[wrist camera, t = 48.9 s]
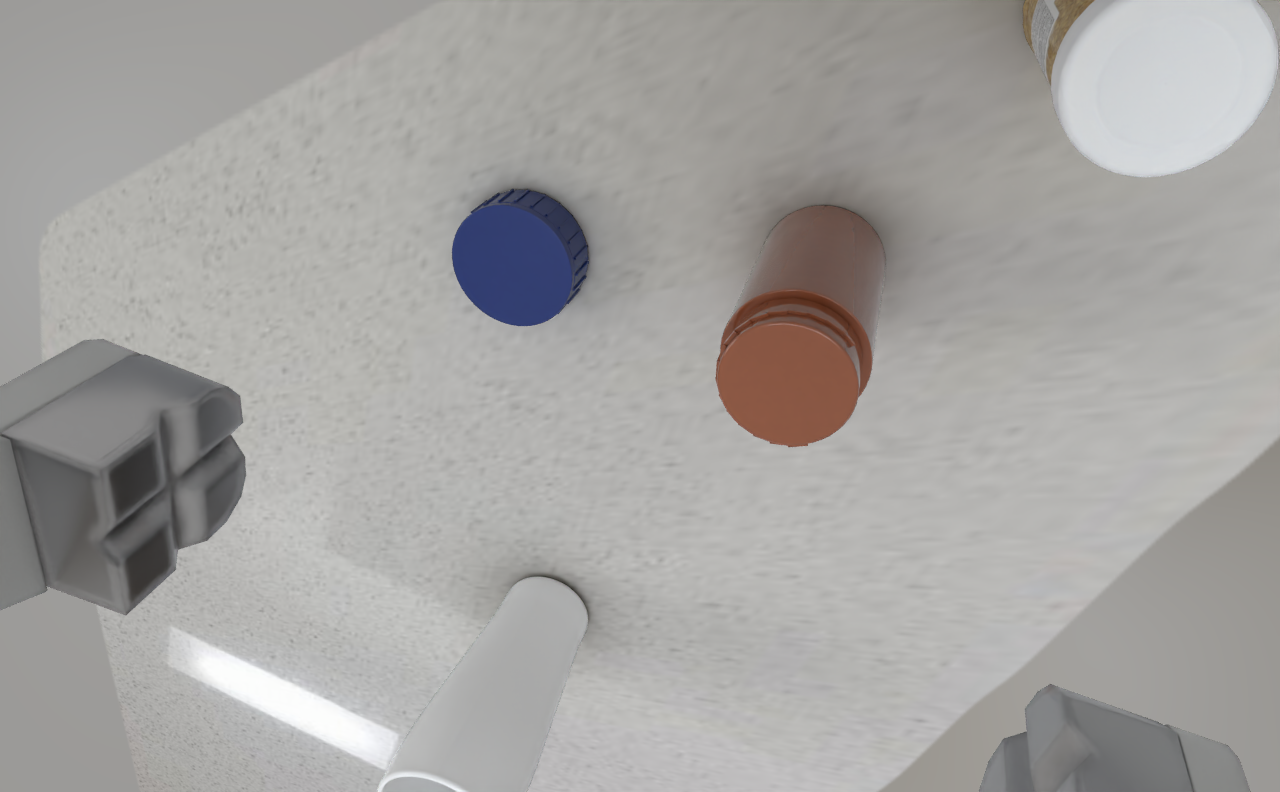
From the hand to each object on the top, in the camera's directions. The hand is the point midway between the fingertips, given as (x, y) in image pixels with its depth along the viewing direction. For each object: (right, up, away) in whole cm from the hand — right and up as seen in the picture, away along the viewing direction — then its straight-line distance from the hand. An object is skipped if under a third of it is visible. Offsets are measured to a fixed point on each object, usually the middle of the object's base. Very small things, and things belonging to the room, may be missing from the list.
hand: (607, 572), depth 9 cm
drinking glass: (-5, -11, +47) cm, 48 cm away
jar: (+8, +7, +30) cm, 32 cm away
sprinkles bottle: (+16, +16, +23) cm, 32 cm away
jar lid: (-6, +8, +33) cm, 34 cm away
